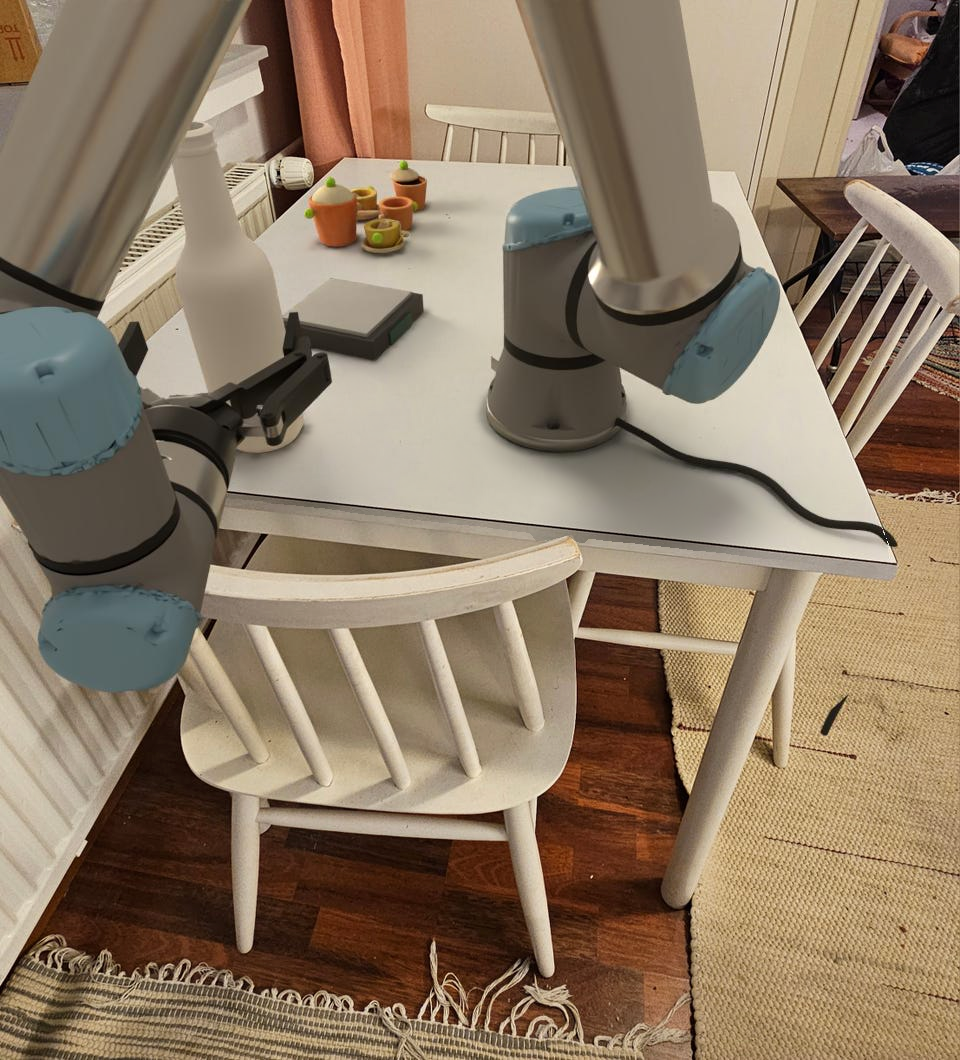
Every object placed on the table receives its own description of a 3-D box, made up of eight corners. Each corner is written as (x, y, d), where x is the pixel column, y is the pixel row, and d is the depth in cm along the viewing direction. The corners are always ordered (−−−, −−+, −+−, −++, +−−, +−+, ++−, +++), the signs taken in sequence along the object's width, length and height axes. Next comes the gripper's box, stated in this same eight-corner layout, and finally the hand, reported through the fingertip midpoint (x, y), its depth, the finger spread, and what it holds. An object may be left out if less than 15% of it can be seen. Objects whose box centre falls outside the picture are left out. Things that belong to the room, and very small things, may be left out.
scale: (425, 311, 102) (423, 290, 100) (376, 360, 92) (373, 338, 90) (334, 295, 106) (331, 274, 104) (278, 340, 96) (274, 319, 94)
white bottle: (228, 463, 77) (132, 147, 57) (217, 419, 83) (127, 119, 63) (313, 444, 79) (249, 134, 59) (296, 402, 85) (234, 107, 65)
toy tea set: (399, 260, 114) (393, 194, 108) (303, 253, 117) (292, 188, 110) (440, 201, 133) (437, 142, 127) (356, 196, 136) (349, 138, 129)
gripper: (348, 420, 49) (355, 282, 64) (-51, 448, 47) (55, 299, 63) (362, 508, 54) (365, 359, 69) (2, 536, 52) (88, 377, 68)
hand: (218, 330), depth 66 cm, fingers open, 13 cm apart
